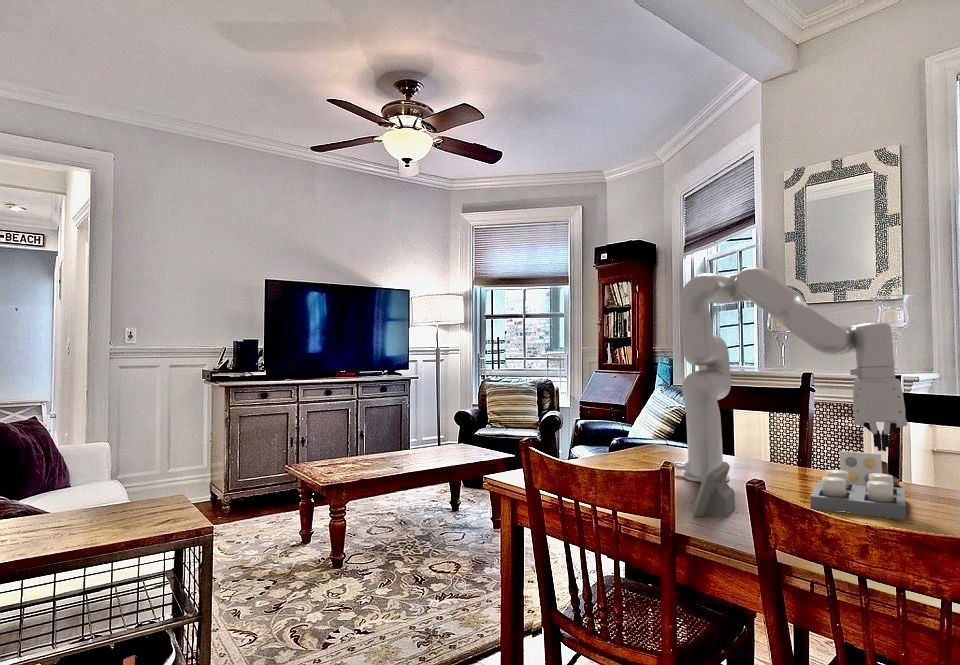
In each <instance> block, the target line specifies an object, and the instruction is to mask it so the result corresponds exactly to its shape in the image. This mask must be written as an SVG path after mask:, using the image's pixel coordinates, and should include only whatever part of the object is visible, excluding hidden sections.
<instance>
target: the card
mask: <svg viewBox="0 0 960 665" xmlns="http://www.w3.org/2000/svg"><path fill="white" fill-rule="evenodd" d="M881 461H882V453H878V452H877V453H876V452H862V451H861V452H860V451H847V450H839V467H840V469H839V470H842V471H846V472H848V478H849V483H854V484H864V485H867V482H868V481H869V474H872V473H880V474H882V462H881Z"/></svg>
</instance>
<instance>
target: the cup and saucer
mask: <svg viewBox="0 0 960 665" xmlns="http://www.w3.org/2000/svg"><path fill="white" fill-rule="evenodd" d="M881 462H882V474H888V475H889V463H888V462H886V461H883V460H881ZM899 483H900V479H899V478H897V477H895V476H893V487H896V485H898V484H899Z"/></svg>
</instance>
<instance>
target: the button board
mask: <svg viewBox="0 0 960 665" xmlns="http://www.w3.org/2000/svg"><path fill="white" fill-rule="evenodd" d="M893 487H894V492H893V501H891V502H881V501H874V500H870V499H868V494H867V485H864V484H854V483H849V487H848V488H846V496H843V497H834V496H828V495H824V494H823V493H822V479H821V480H818V481H817V483H816V484H815V486H814V489H813V490H812V492H811V494H810V495H809V500H810V503H809V504H810V509H811V508H812V509H811V510H818V511H825V512H832V513H833V512H834V513H836V512H835V511H845V512H850V513H855V514H854V515H857V514H859V515H858V516H867V517H874V516H877V517H876V518H882V517H888V518H887V519H891V518H894V519H893V520H899V519H901V520H900V521H907V516H906V512H907V511H906V490H905V487H897V486H893Z"/></svg>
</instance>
